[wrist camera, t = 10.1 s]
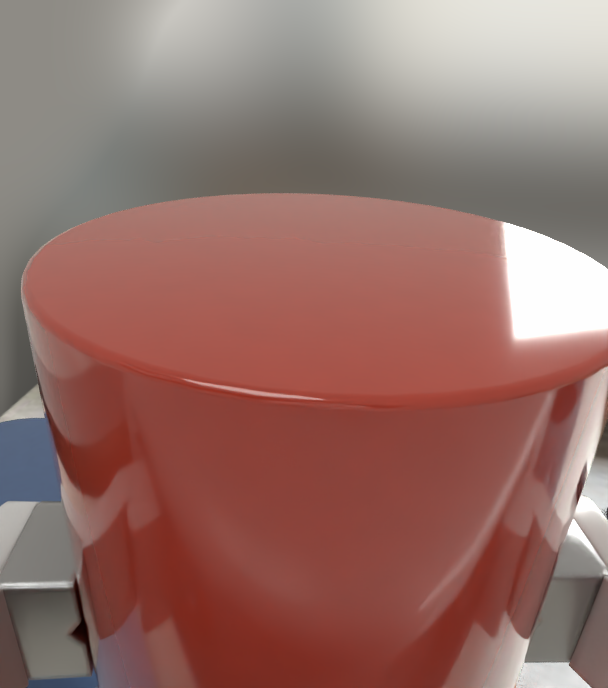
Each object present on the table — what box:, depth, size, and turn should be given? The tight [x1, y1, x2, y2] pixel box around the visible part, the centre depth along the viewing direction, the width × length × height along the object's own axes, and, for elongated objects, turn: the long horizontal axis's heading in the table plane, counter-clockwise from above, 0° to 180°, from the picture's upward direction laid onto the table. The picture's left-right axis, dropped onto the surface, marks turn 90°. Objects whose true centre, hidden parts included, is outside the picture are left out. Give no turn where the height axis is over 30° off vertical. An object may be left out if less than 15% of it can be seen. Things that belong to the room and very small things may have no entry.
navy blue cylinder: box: [0, 418, 97, 688], centre depth 22 cm, size 6×6×10 cm
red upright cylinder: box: [21, 193, 608, 688], centre depth 8 cm, size 6×6×10 cm
